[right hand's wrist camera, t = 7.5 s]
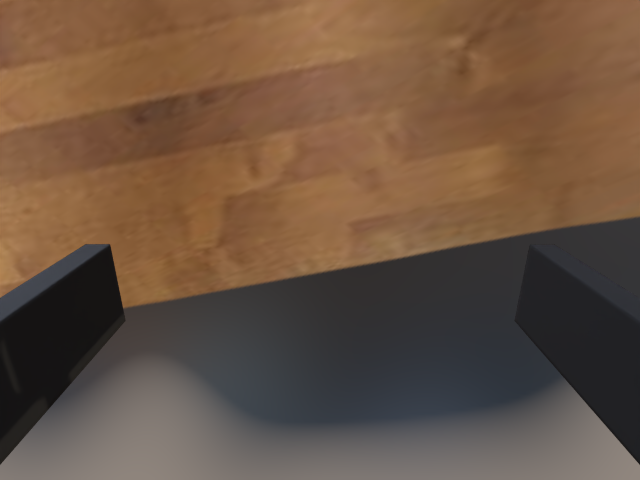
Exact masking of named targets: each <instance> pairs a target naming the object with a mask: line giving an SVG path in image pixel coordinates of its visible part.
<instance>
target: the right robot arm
mask: <svg viewBox="0 0 640 480" xmlns="http://www.w3.org/2000/svg"><path fill="white" fill-rule="evenodd" d="M124 322H125V316H124V311H123V306H122V301H121V296H120V291H119V286H118V281H117V276H116V271H115V266H114V261H113V256H112V251H111V246H110V244H85V245H84V246H82V247H81V248H79V249H77V250H76V251H74V252H73V253H71V254H69V255H68V256H66V257H65V258H63V259H62V260H60V261H58V262H57V263H55V264H54V265H52V266H50V267H49V268H47V269H46V270H44V271H42V272H41V273H39V274H38V275H36V276H34V277H33V278H31V279H30V280H28V281H26V282H25V283H23V284H22V285H20V286H19V287H17V288H15V289H14V290H12V291H11V292H9V293H7V294H6V295H4V296H3V297H1V298H0V464H1V463H2V462H3V461H4V460H5V459H6V457H7V456H8V455H9V454H10V453H11V452H12V451H13V449H14V448H15V447H16V446H17V445H18V444H19V442H20V441H21V440H22V439H23V438H24V437H25V436H26V434H27V433H28V432H29V431H30V430H31V429H32V428H33V426H34V425H35V424H36V423H37V422H38V421H39V420H40V418H41V417H42V416H43V415H44V414H45V413H46V411H47V410H48V409H49V408H50V407H51V406H52V405H53V403H54V402H55V401H56V400H57V399H58V398H59V397H60V395H61V394H62V393H63V392H64V391H65V390H66V388H67V387H68V386H69V385H70V384H71V383H72V381H73V380H74V379H75V378H76V377H77V376H78V375H79V374H80V372H81V371H82V370H83V369H84V368H85V367H86V365H87V364H88V363H89V362H90V361H91V360H92V359H93V357H94V356H95V355H96V354H97V353H98V352H99V351H100V349H101V348H102V347H103V346H104V345H105V344H106V342H107V341H108V340H109V339H110V338H111V337H112V336H113V334H114V333H115V332H116V331H117V330H118V329H119V328H120V326H121V325H122V324H123V323H124ZM515 322H516V323H517V324H518V325H519V326H520V328H521V329H522V330H523V331H524V332H525V333H526V334H527V336H528V337H529V338H530V339H531V340H532V341H533V342H534V344H535V345H536V346H537V347H538V348H539V349H540V351H541V352H542V353H543V354H544V355H545V356H546V357H547V359H548V360H549V361H550V362H551V363H552V364H553V365H554V367H555V368H556V369H557V370H558V371H559V372H560V374H561V375H562V376H563V377H564V378H565V379H566V380H567V382H568V383H569V384H570V385H571V386H572V387H573V388H574V390H575V391H576V392H577V393H578V394H579V395H580V397H581V398H582V399H583V400H584V401H585V402H586V403H587V405H588V406H589V407H590V408H591V409H592V410H593V411H594V413H595V414H596V415H597V416H598V417H599V418H600V419H601V421H602V422H603V423H604V424H605V425H606V426H607V428H608V429H609V430H610V431H611V432H612V433H613V434H614V436H615V437H616V438H617V439H618V440H619V441H620V442H621V444H622V445H623V446H624V447H625V448H626V449H627V451H628V452H629V453H630V454H631V455H632V456H633V457H634V459H635V460H636V461H637V462H638V463H639V464H640V298H639V297H637V296H636V295H634V294H633V293H631V292H629V291H628V290H626V289H625V288H623V287H621V286H620V285H618V284H617V283H615V282H613V281H612V280H610V279H609V278H607V277H606V276H604V275H602V274H601V273H599V272H598V271H596V270H594V269H593V268H591V267H590V266H588V265H586V264H585V263H583V262H582V261H580V260H578V259H577V258H575V257H574V256H572V255H571V254H569V253H567V252H566V251H564V250H563V249H561V248H559V247H558V246H556V245H555V244H530V246H529V251H528V256H527V261H526V266H525V271H524V276H523V281H522V286H521V291H520V296H519V301H518V306H517V311H516V316H515Z"/></svg>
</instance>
